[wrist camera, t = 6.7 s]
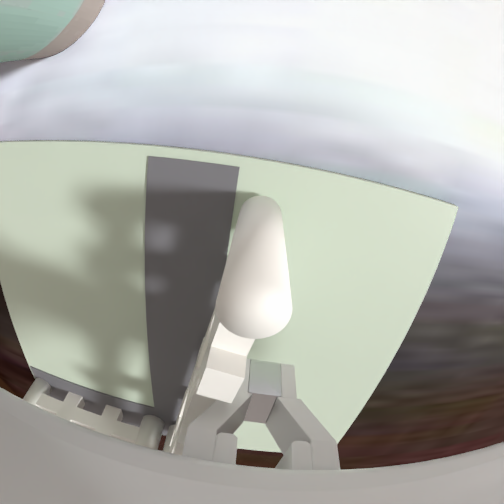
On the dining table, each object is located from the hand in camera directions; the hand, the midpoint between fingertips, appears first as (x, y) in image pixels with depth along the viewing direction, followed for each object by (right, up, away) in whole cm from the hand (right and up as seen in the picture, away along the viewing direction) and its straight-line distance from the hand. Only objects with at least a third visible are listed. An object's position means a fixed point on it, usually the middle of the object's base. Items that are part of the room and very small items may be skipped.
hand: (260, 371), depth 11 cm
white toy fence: (-3, -1, +4) cm, 5 cm away
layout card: (-5, 0, +5) cm, 7 cm away
